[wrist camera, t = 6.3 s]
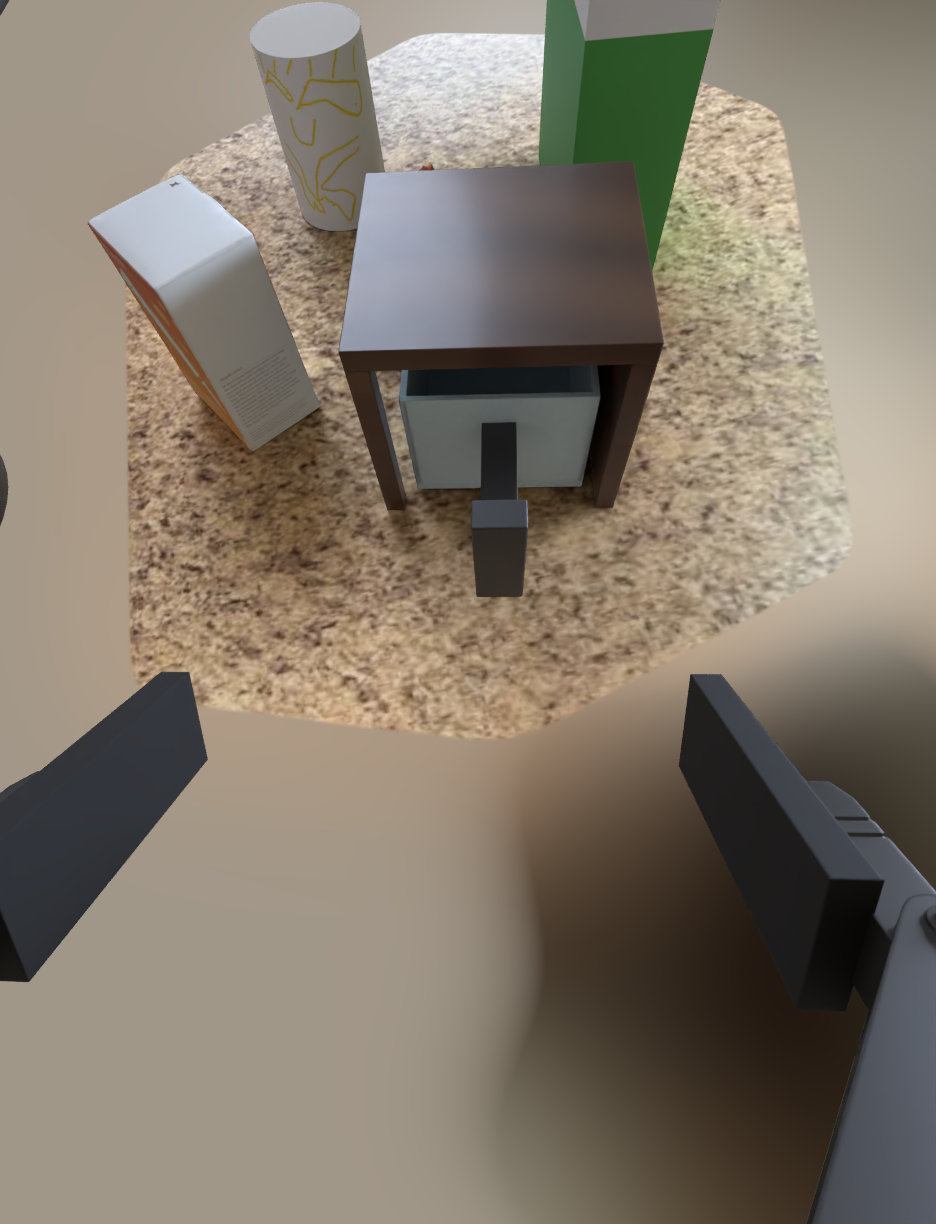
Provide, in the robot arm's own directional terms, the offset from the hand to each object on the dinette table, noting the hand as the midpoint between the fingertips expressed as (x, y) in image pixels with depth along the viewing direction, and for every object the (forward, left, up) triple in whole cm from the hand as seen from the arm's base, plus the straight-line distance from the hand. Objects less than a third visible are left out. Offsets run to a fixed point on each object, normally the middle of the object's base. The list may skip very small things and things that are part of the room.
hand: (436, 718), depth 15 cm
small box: (-32, -6, -17) cm, 37 cm away
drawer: (-19, +9, -17) cm, 27 cm away
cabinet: (-23, +10, -17) cm, 31 cm away
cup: (-53, +6, -17) cm, 56 cm away
